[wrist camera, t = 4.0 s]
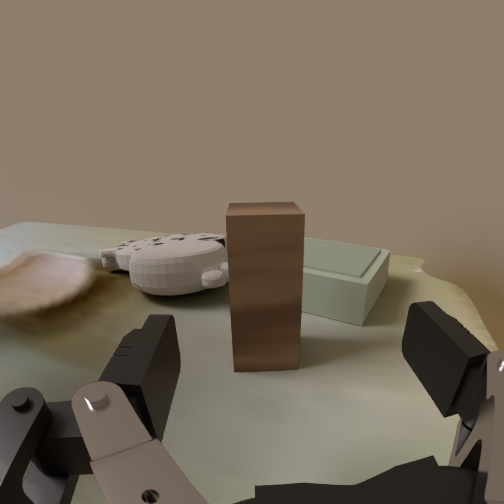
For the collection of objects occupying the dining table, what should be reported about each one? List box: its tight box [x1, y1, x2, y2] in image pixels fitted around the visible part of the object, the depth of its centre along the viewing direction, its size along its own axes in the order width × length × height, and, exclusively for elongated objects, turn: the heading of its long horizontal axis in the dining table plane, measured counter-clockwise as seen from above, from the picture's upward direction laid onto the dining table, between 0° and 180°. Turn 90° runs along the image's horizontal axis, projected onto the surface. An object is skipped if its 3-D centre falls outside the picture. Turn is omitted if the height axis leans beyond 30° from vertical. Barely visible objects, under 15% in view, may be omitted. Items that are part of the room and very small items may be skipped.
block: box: [226, 202, 305, 372], centre depth 22 cm, size 4×4×11 cm
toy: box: [100, 233, 229, 295], centre depth 40 cm, size 22×5×20 cm
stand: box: [302, 237, 390, 326], centre depth 33 cm, size 11×11×4 cm
